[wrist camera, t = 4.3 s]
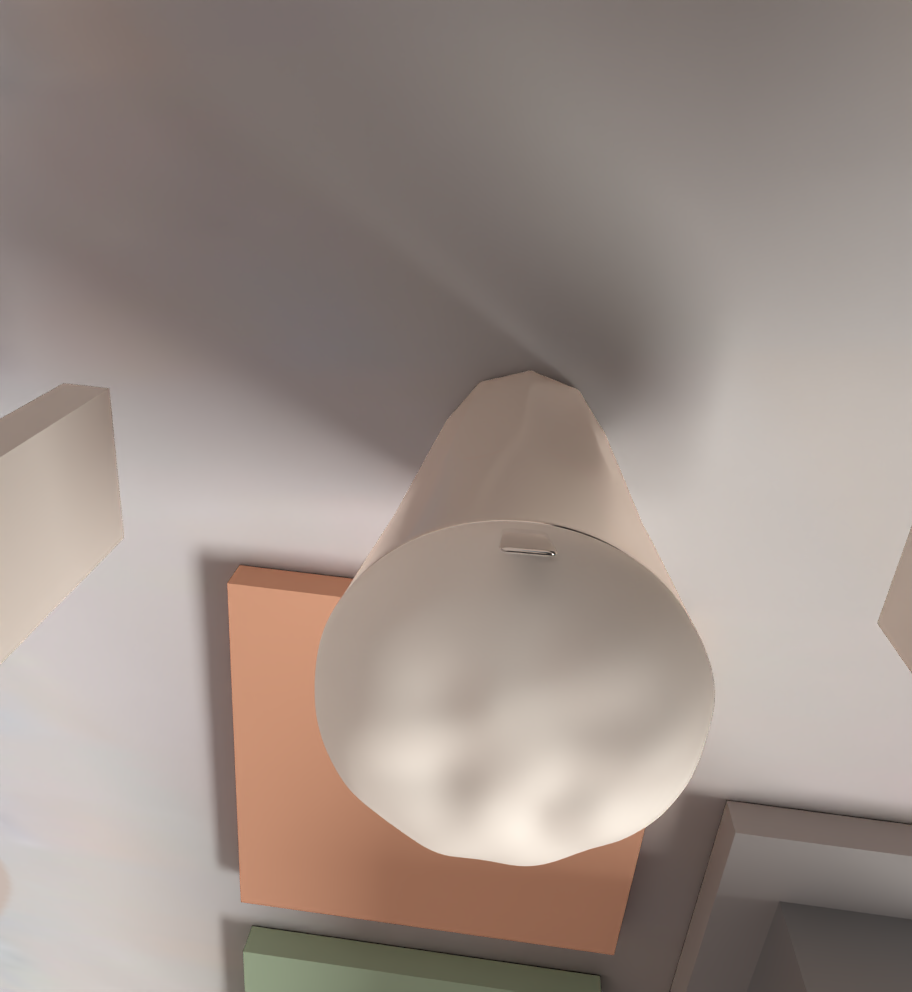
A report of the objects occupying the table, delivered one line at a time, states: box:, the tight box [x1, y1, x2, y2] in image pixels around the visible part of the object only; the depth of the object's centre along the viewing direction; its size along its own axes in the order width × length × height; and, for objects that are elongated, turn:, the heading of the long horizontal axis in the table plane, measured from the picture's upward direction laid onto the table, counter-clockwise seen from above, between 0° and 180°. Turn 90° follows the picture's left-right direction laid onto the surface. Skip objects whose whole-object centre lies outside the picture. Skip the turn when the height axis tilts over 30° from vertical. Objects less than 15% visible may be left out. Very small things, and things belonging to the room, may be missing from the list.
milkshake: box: [314, 370, 715, 866], centre depth 12 cm, size 4×5×10 cm
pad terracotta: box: [227, 565, 645, 955], centre depth 20 cm, size 10×10×1 cm
